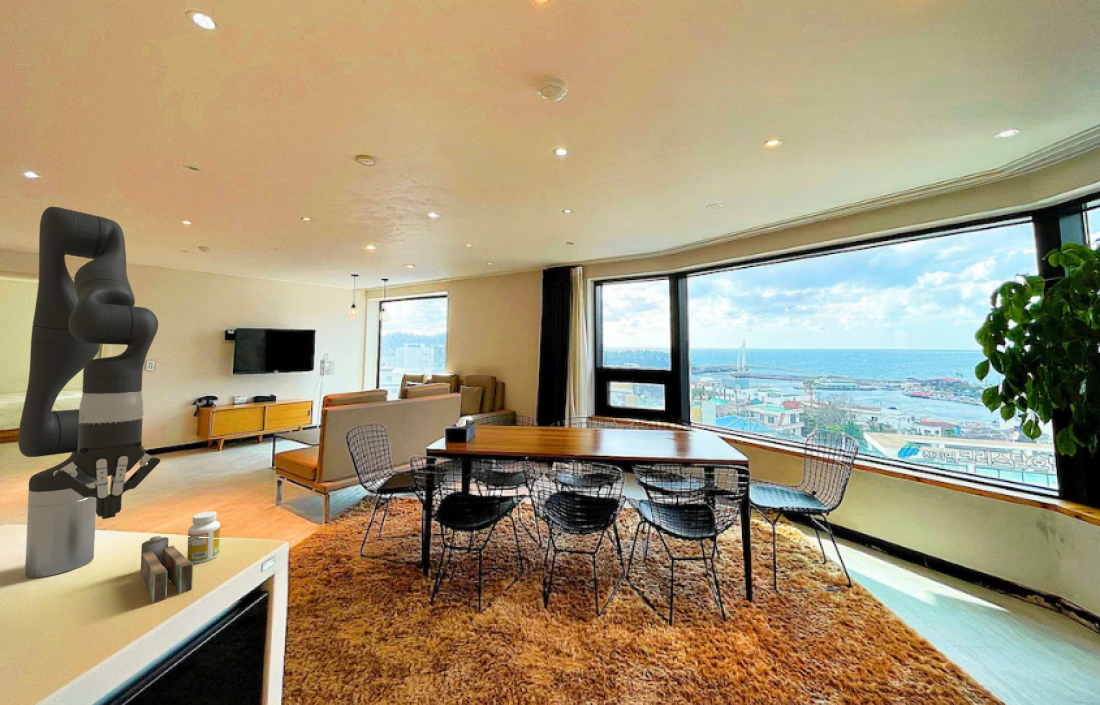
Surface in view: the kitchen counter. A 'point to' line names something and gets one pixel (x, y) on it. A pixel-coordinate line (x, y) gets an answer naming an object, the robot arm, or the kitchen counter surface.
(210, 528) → the supplement bottle
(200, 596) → the kitchen counter surface
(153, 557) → the tong arm
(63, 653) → the kitchen counter surface
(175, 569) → the tongs frame
